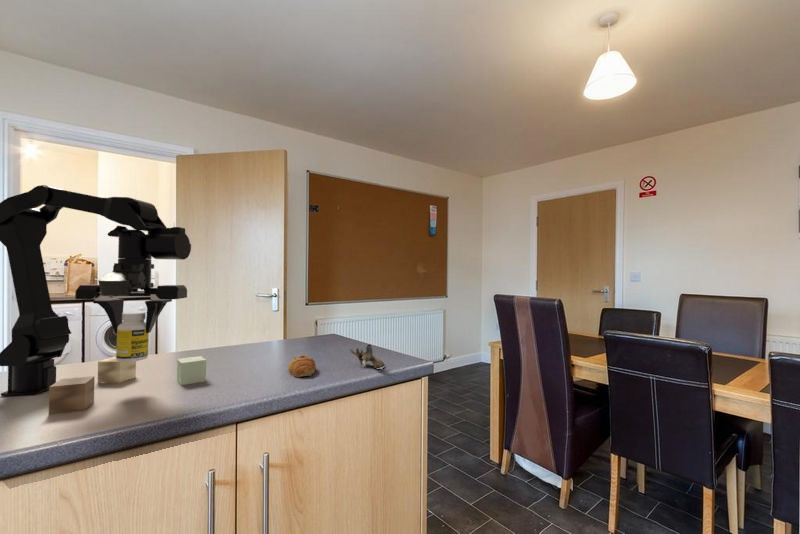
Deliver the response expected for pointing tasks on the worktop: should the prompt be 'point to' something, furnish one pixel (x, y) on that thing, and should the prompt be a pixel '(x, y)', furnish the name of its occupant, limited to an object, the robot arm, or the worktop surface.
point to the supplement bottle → (132, 338)
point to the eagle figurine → (368, 357)
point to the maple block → (115, 370)
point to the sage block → (191, 370)
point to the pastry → (302, 366)
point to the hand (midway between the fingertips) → (133, 333)
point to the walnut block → (71, 395)
